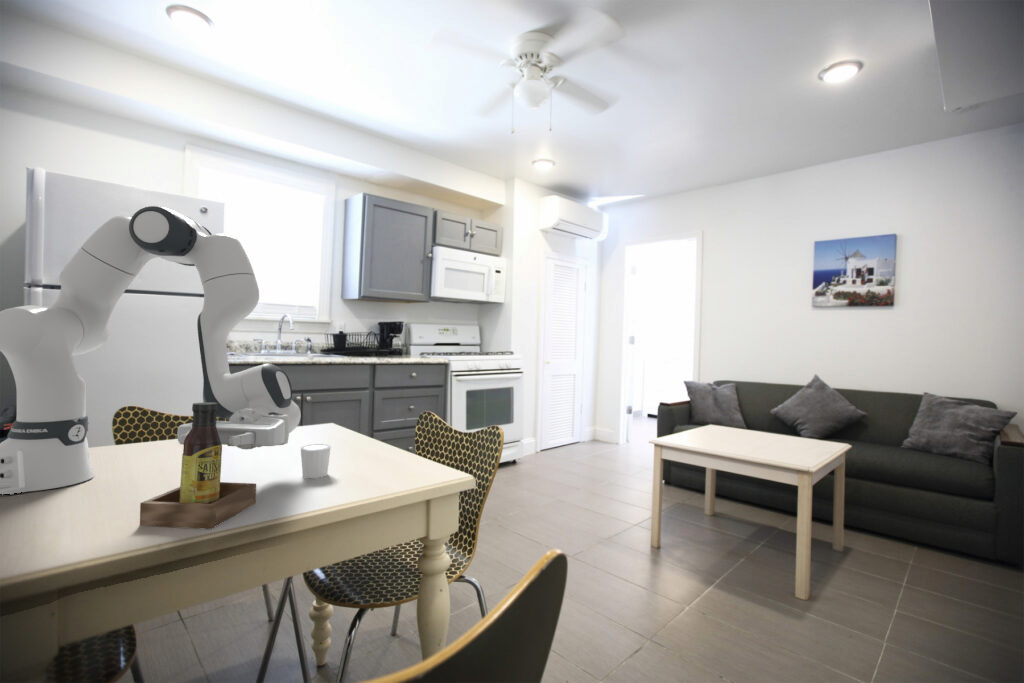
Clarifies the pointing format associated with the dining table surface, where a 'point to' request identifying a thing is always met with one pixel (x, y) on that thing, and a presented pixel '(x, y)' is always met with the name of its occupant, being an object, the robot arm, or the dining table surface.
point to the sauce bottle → (201, 457)
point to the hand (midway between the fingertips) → (206, 441)
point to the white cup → (315, 460)
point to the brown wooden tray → (197, 508)
